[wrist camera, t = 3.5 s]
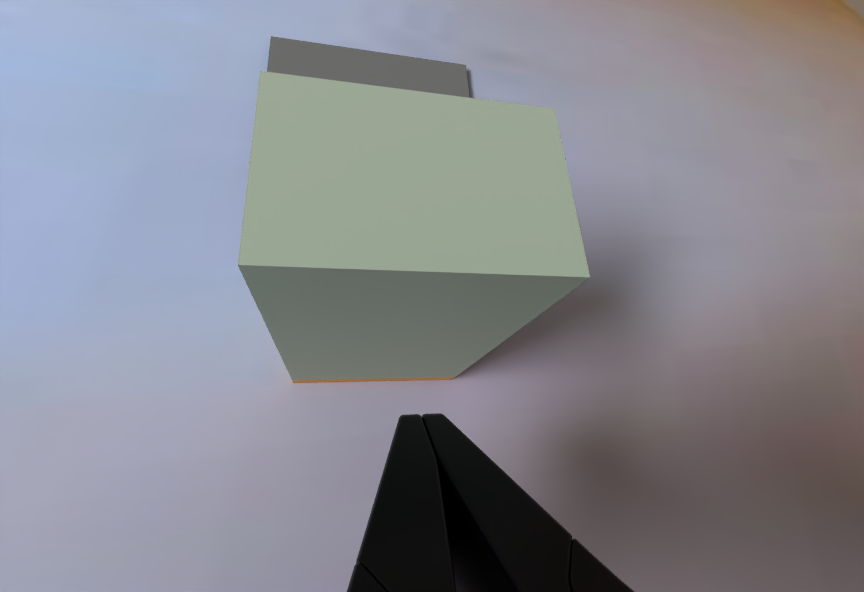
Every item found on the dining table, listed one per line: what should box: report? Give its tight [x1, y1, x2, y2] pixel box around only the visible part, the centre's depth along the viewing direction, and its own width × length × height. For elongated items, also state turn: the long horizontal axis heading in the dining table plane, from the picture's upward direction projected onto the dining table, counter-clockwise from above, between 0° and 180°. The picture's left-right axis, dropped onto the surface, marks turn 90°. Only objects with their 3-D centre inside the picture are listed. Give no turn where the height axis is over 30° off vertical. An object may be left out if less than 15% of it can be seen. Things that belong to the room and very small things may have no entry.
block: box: [238, 71, 590, 383], centre depth 12 cm, size 4×6×10 cm, turn 93°
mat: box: [267, 36, 470, 98], centre depth 20 cm, size 12×10×1 cm
